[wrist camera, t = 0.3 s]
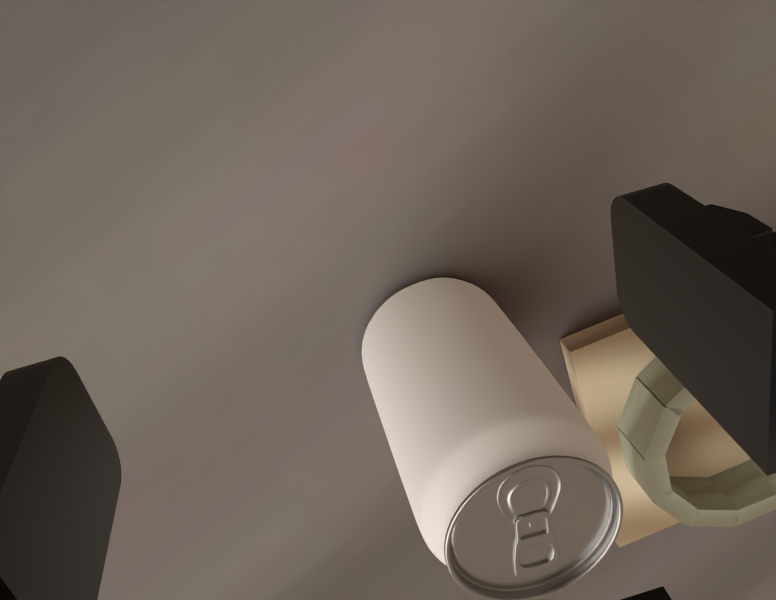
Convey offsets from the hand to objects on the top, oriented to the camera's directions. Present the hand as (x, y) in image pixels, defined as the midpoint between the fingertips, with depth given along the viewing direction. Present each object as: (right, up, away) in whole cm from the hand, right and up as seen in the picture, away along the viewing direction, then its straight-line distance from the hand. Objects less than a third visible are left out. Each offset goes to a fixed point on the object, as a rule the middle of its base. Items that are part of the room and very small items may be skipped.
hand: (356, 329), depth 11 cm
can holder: (+16, -4, +26) cm, 31 cm away
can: (+2, -1, +22) cm, 22 cm away
